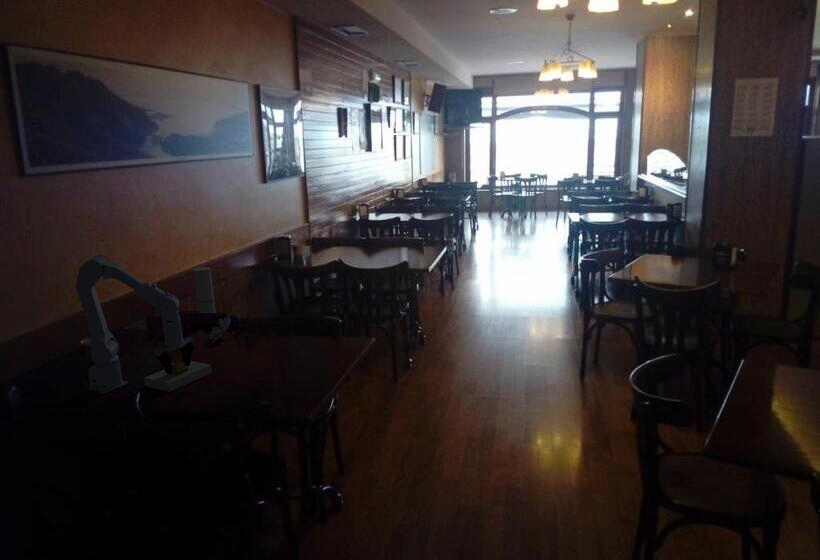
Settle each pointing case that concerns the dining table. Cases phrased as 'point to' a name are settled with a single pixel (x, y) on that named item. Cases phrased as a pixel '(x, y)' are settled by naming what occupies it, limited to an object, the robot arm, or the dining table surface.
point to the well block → (177, 377)
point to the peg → (178, 367)
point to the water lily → (221, 329)
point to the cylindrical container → (204, 290)
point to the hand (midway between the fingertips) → (178, 369)
